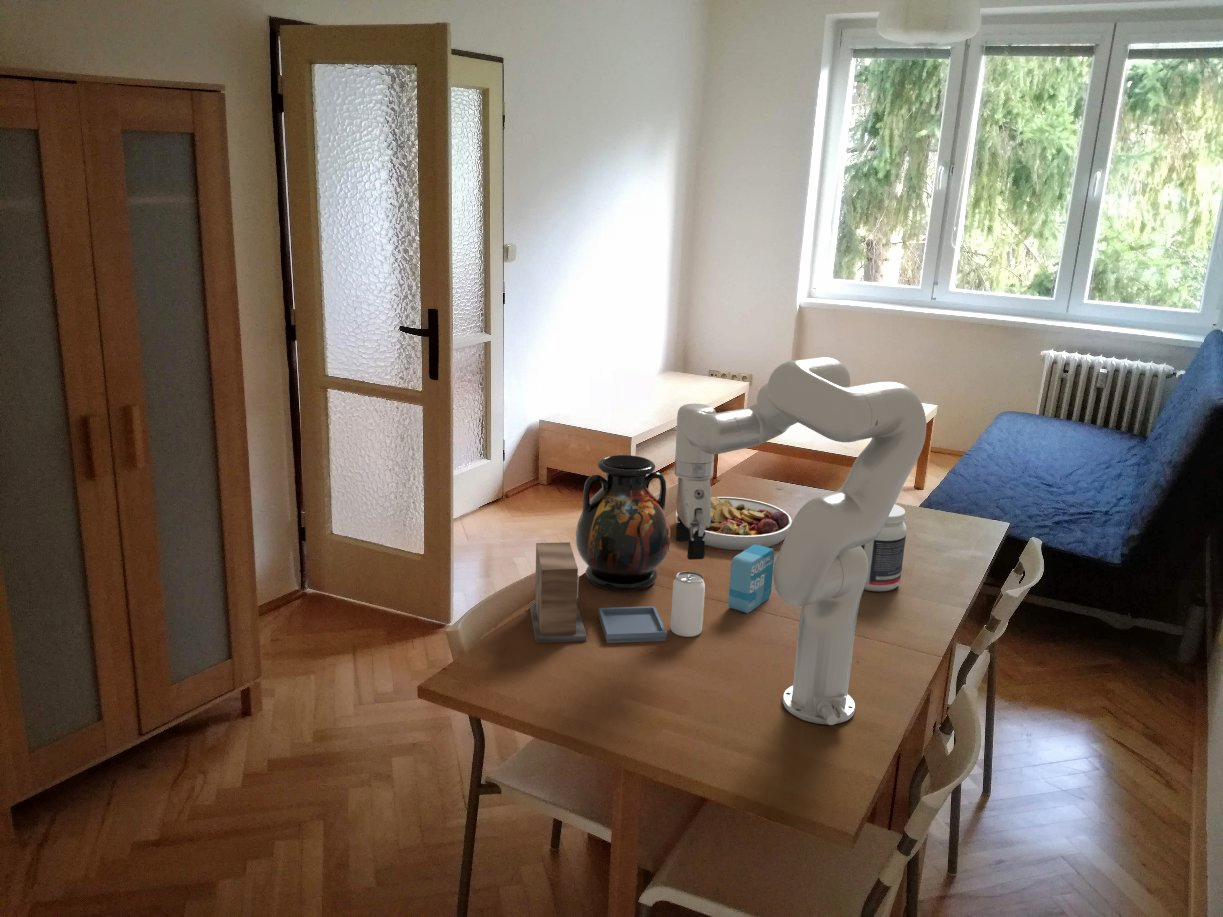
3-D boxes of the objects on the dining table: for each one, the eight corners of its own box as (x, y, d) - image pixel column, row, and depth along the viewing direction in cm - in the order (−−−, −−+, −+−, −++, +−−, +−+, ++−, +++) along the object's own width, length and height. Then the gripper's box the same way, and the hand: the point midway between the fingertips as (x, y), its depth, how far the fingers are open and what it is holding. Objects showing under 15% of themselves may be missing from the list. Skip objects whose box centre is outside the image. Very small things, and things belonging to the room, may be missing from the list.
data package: (745, 615, 210) (750, 563, 207) (727, 609, 213) (731, 558, 209) (770, 597, 220) (775, 547, 216) (752, 591, 222) (757, 542, 219)
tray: (666, 640, 198) (666, 632, 197) (606, 642, 196) (607, 634, 195) (654, 614, 209) (654, 606, 208) (598, 616, 207) (598, 608, 206)
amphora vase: (587, 602, 213) (591, 479, 205) (565, 564, 233) (568, 450, 225) (681, 594, 219) (688, 474, 211) (651, 558, 239) (657, 447, 231)
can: (665, 633, 201) (668, 578, 197) (678, 621, 206) (681, 568, 203) (694, 640, 198) (698, 585, 194) (706, 628, 203) (710, 574, 200)
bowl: (662, 544, 248) (664, 515, 246) (688, 508, 276) (690, 481, 274) (781, 562, 240) (784, 532, 238) (796, 522, 268) (799, 495, 266)
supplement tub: (903, 578, 233) (913, 505, 227) (894, 598, 222) (904, 521, 216) (849, 567, 238) (857, 495, 233) (837, 586, 227) (845, 511, 221)
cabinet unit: (586, 641, 196) (588, 570, 192) (536, 643, 194) (537, 571, 190) (576, 606, 211) (578, 540, 207) (529, 608, 210) (531, 541, 205)
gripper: (724, 480, 185) (719, 565, 189) (701, 455, 201) (697, 534, 206) (685, 481, 183) (681, 567, 188) (665, 455, 200) (662, 535, 204)
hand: (689, 549), depth 197 cm, fingers open, 9 cm apart
